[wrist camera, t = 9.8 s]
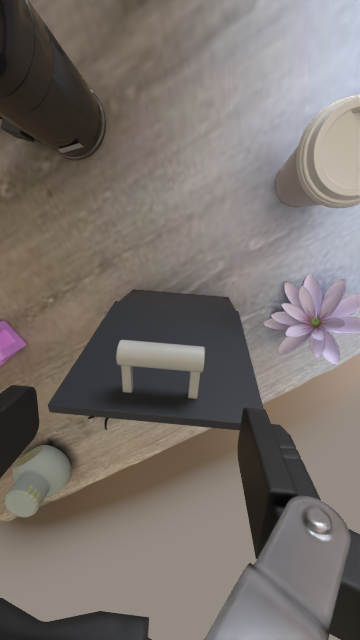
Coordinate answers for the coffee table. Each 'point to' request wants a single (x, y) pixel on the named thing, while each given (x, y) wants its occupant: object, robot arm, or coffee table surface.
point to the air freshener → (37, 479)
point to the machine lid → (163, 368)
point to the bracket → (9, 342)
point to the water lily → (316, 317)
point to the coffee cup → (325, 160)
